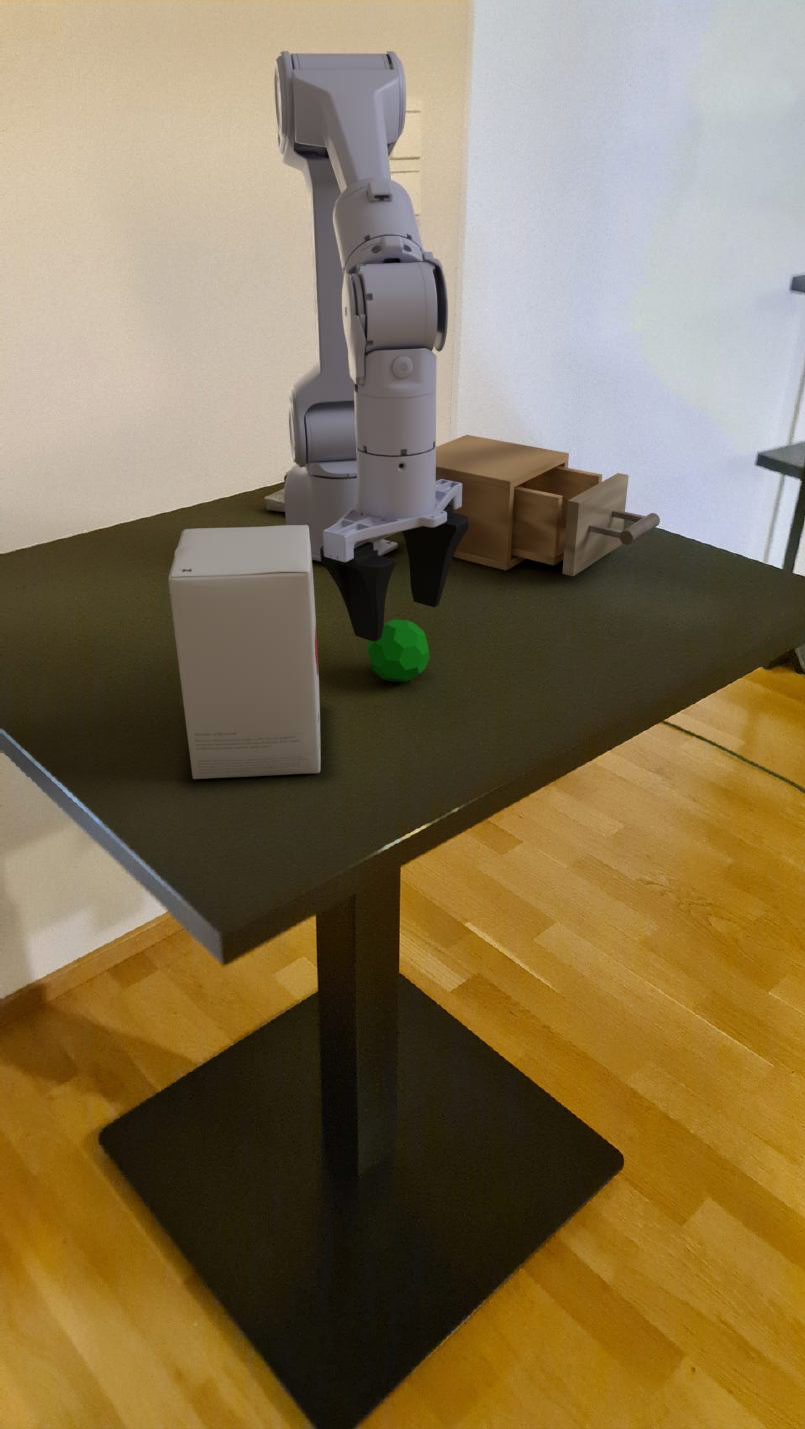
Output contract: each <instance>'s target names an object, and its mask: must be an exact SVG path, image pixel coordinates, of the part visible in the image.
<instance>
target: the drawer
mask: <svg viewBox="0 0 805 1429" xmlns="http://www.w3.org/2000/svg"><path fill="white" fill-rule="evenodd" d="M629 477H630V476H629V474H625V473H620V472H617V473H616V474H613V475H612V476H610V477H608V478H606V479H605V480H603V474H602V473H596V472H592V471H587V470H581V469H575V468H570V467H568V468H566V467H560V466H556V467H554V468H552V469H550V470H548V471H546V472H544V473H542V474H540V475H538V476H536V477H534V478H532V479H530V480H528V481H526V482H524V483H522V484H520V485H518V486H516V487H514V501H513V522H512V543H511V555H514V556H518V557H522V558H526V559H525V560H531V561H534V562H539V563H543V564H546V565H551V566H555V565H557V564H559V563H560V562H562V571H561V572H562V574H563V575H566V576H571V577H574V576H576V575H578V574H579V573H581V572H582V571H584V570H585V569H587V568H588V567H590V566H591V565H593V564H594V563H596V562H598V561H599V560H600V559H602V558H603V557H605V556H606V555H608V554H609V553H611V552H612V551H614V550H616V549H617V548H619V547H620V546H622V544H624V545H627V546H628V545H630V544H632V543H634V542H635V541H637V540H638V539H640V538H642V537H643V536H645V535H646V534H647V533H649V532H650V531H652V530H654V529H655V528H656V527H658V526H659V525H660V523H661V519H660V516H659V515H658V514H657V513H656V512H650V513H648V514H647V515H641V514H637V513H634V512H633V513H632V512H629V511H626V505H627V495H628V488H629V486H628V485H629ZM625 521H628V522H633V524H631V525H629V526H628V527H626V528H625V529H624V525H625Z"/></svg>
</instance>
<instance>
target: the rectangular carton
mask: <svg viewBox="0 0 805 1429" xmlns="http://www.w3.org/2000/svg"><path fill="white" fill-rule="evenodd" d="M180 533H181V534H180V536H179V541H178V544H177V547H176V549H175V550H174V557H173V560H172V565H171V567H170V571H169V573H168V577H167V578H168V579H167V581H168V588H169V597H170V604H171V605H170V606H171V613H172V622H173V629H174V638H175V639H174V640H175V646H176V655H177V661H178V663H177V664H178V670H179V671H178V672H179V678H180V686H181V694H182V703H183V711H184V718H185V727H186V736H187V744H188V751H189V758H190V759H189V760H190V767H191V776H192V779H193V780H201V779H224V778H242V777H243V778H245V777H262V776H263V777H264V776H265V777H266V776H285V775H286V776H287V775H305V774H320V772H321V768H322V767H321V765H322V764H321V761H322V759H321V758H322V757H321V756H322V755H321V750H322V749H321V704H320V702H321V701H320V700H321V699H320V676H319V657H318V656H319V655H318V654H319V653H318V652H319V651H318V650H319V649H318V637H317V636H318V634H317V618H316V601H315V585H314V571H313V560H312V557H311V545H310V535H309V527H308V526H307V525H286V524H285V525H270V526H269V525H268V526H245V527H244V526H242V527H240V526H239V527H199V528H185V529H183V530H182V531H181V532H180Z"/></svg>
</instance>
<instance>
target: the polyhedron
mask: <svg viewBox="0 0 805 1429" xmlns="http://www.w3.org/2000/svg"><path fill="white" fill-rule="evenodd" d="M426 636H427V635H426V633H425V631H424V630H423V629H422V628H421V627H419V626H418V625H417V624H416V623H415V622H413V621H410V620H406V619H390V620H389V621H387V622H386V623H385V622H384V627H383V633H382V636H381V639H380V640H378V641H376V642H373V641H370V640H367V643H366V648H367V652H368V653H367V654H368V657H369V661H370V666H371V669H372V672H374V673H375V675H377V676H379V678H381V679H382V680H385V681H388V682H392V683H393V682H395V683H405V682H406V683H407V682H409V681H411V680H412V679H414V678H415V677H417V676H419V675H420V674H421V673H423V671H425V670H426V668H427V665H428V663H429V661H430V658H431V654H430V650H429V649H430V648H429V645H428V640H427V637H426Z"/></svg>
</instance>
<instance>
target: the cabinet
mask: <svg viewBox="0 0 805 1429" xmlns="http://www.w3.org/2000/svg"><path fill="white" fill-rule="evenodd" d="M569 458H570V452H564V451H559V450H553V449H548V448H543V447H537V446H531V445H527V444H520V443H515V442H509V441H504V440H497V439H492V438H487V437H481V436H476V435H471V434H465V435H463V436H460V437H458V438H454V439H452V440H450V441H447V442H445V443H442V444H440V445H436V481H438V480H440V479H444V480H449V481H454V482H459V483H462V506H461V507H460V508H458V509H455V510H453V513H457V514H461V515H465V516H467V517H468V518H469V527H468V530H467V531H466V533H465V534H464V536H463V538H462V539H461V541H460V543H459V545H458V547H457V549H456V551H455V554H454V556H453V558H455V559H460V560H463V561H468V562H471V563H474V564H478V565H481V566H482V565H483V566H486V567H490V568H495V569H497V570H502V571H508V570H510V569H512V568H513V567H515V566H517V565H518V564H520V563H522V562H524V561H525V560H527V559H526V558H522V557H518V556H514V555H511V543H512V522H513V501H514V487H516V486H518V485H520V484H522V483H524V482H526V481H528V480H530V479H532V478H534V477H536V476H538V475H540V474H542V473H544V472H546V471H548V470H550V469H552V468H554V467H556V466H560V467H566V468H569V461H570V460H569ZM404 546H406V543H405V542H404Z"/></svg>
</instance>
